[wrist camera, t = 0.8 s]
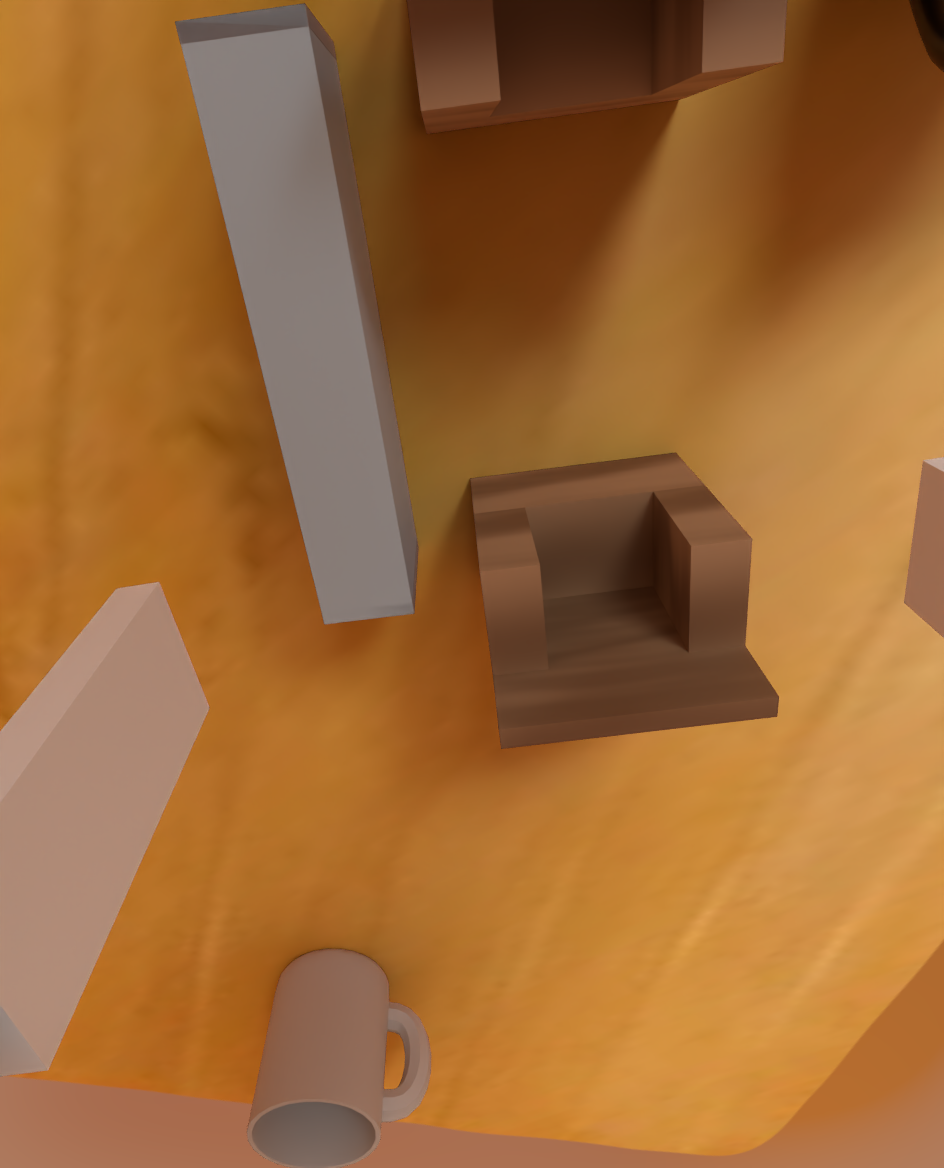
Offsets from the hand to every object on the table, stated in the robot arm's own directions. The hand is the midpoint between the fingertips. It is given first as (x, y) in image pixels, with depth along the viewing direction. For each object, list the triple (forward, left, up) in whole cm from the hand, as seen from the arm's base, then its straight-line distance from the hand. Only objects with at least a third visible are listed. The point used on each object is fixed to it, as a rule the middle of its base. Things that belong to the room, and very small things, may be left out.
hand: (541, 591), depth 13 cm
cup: (+38, -13, -20) cm, 45 cm away
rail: (-2, -6, -20) cm, 20 cm away
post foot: (+7, +3, -20) cm, 21 cm away
